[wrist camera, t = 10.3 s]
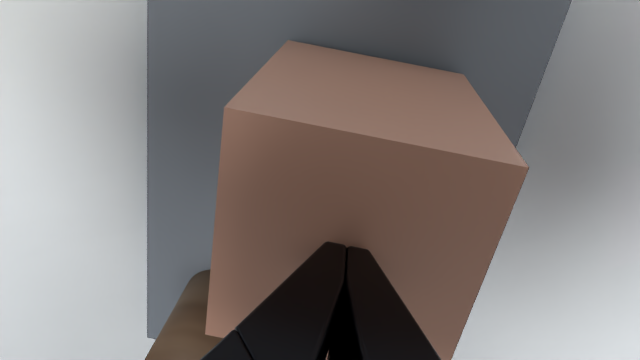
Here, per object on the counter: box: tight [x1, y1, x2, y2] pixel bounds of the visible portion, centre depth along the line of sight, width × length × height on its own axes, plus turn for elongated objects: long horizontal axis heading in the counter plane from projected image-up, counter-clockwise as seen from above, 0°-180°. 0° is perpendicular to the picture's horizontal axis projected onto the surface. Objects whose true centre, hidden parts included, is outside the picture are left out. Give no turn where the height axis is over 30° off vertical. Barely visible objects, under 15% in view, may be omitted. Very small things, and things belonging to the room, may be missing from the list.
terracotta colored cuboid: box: [205, 40, 529, 360], centre depth 12 cm, size 5×5×7 cm
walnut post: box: [145, 270, 223, 360], centre depth 17 cm, size 3×3×4 cm
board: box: [147, 0, 572, 339], centre depth 17 cm, size 16×12×1 cm
